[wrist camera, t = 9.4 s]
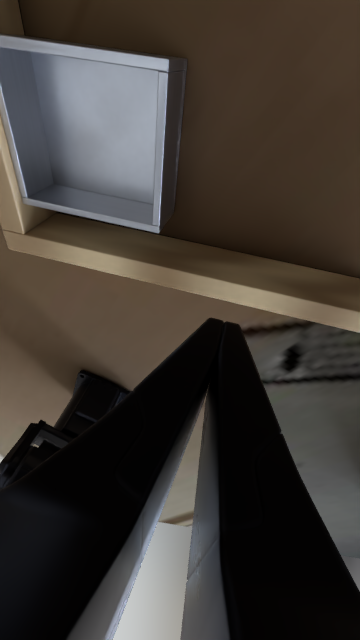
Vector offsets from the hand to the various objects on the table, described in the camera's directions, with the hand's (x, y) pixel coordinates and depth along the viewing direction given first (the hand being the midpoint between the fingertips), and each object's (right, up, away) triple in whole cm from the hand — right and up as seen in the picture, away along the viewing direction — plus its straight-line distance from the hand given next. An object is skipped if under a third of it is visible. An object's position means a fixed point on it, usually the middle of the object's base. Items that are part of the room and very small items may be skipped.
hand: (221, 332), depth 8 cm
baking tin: (-5, +10, +8) cm, 14 cm away
